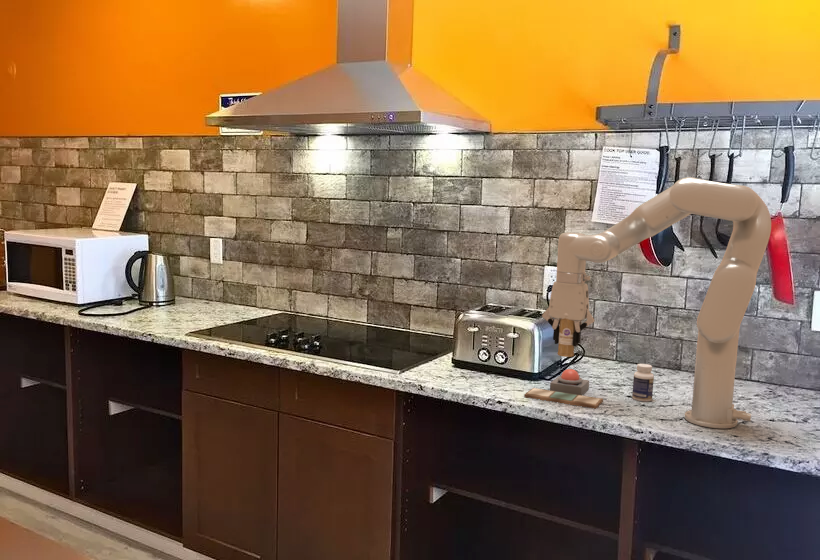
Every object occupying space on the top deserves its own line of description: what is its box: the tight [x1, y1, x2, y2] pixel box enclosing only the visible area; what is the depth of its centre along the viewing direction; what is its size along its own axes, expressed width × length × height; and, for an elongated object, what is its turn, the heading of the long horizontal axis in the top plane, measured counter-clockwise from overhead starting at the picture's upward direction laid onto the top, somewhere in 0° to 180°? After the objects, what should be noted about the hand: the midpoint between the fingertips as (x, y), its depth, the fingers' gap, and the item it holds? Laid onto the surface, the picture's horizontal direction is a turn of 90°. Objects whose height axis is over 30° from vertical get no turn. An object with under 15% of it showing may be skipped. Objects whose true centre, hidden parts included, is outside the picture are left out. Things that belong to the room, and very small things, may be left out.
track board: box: [523, 387, 604, 410], centre depth 209 cm, size 20×8×1 cm, turn 63°
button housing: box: [549, 375, 590, 396], centre depth 218 cm, size 9×9×3 cm
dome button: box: [557, 368, 583, 385], centre depth 218 cm, size 7×7×6 cm
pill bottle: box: [631, 363, 655, 403], centre depth 211 cm, size 5×5×10 cm
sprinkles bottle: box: [557, 313, 575, 358], centre depth 206 cm, size 5×5×14 cm
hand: (566, 343), depth 207 cm, fingers closed on sprinkles bottle, 4 cm apart
